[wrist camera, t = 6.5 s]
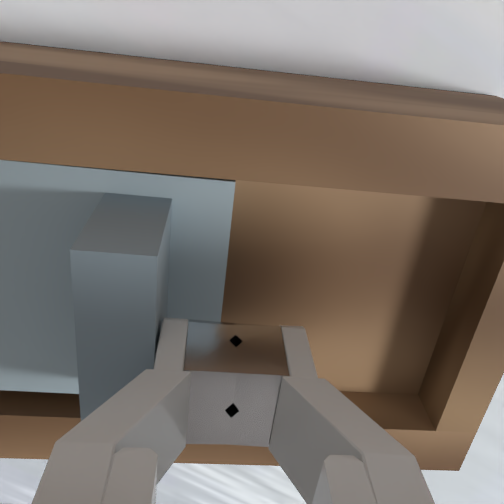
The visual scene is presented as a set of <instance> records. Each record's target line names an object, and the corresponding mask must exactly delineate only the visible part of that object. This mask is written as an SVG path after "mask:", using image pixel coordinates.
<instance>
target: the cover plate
mask: <svg viewBox="0 0 504 504" xmlns="http://www.w3.org/2000/svg"><path fill="white" fill-rule="evenodd" d="M234 192H235V180H230V179H218V178H207V177H195V176H184V175H172V174H161V173H149V172H138V171H126V170H114V169H103V168H91V167H80V166H68V165H57V164H45V163H34V162H22V161H11V160H0V390H7V391H28V392H49V393H70V394H79V401H80V416H81V421H82V420H83V419H85V418H86V417H87V416H88V415H90V414H91V413H92V412H93V411H95V410H96V409H97V408H98V407H100V406H101V405H102V404H103V403H105V402H106V401H107V400H108V399H110V398H111V397H112V396H113V395H115V394H116V393H117V392H118V391H120V390H121V389H122V388H123V387H124V386H126V385H127V384H128V383H129V382H131V381H132V380H133V379H134V378H136V377H137V376H138V375H139V374H141V373H142V372H143V371H144V370H146V369H154V363H155V358H156V353H157V347H158V342H159V337H160V331H161V326H162V321H163V319H164V318H179V319H188V324H189V319H193V320H205V321H216V322H221V313H222V304H223V295H224V285H225V276H226V267H227V257H228V248H229V238H230V229H231V220H232V210H233V201H234Z"/></svg>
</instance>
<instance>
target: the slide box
mask: <svg viewBox="0 0 504 504" xmlns="http://www.w3.org/2000/svg"><path fill="white" fill-rule="evenodd" d="M0 160H11V161H22V162H34V163H45V164H57V165H68V166H80V167H91V168H103V169H114V170H126V171H138V172H149V173H161V174H172V175H184V176H195V177H207V178H218V179H230V180H235V192H234V201H233V210H232V220H231V229H230V238H229V248H228V257H227V267H226V276H225V285H224V295H223V304H222V313H221V322H228V323H236V324H251V325H270V326H280V325H283V326H303V327H304V328H305V330H306V334H307V338H308V341H309V345H310V349H311V353H312V357H313V361H314V364H315V368H316V372H317V376H318V378H322V379H326V380H327V381H328V382H329V383H331V384H332V385H333V386H334V387H335V388H336V389H337V390H339V391H340V392H341V393H342V394H343V395H344V396H346V397H347V398H348V399H349V400H350V401H351V402H353V403H354V404H355V405H356V406H357V407H358V408H360V409H361V410H362V411H363V412H364V413H365V414H366V415H368V416H369V417H370V418H371V419H372V420H373V421H375V422H376V423H377V424H378V425H379V426H380V427H382V428H383V429H384V430H385V431H386V432H387V433H388V434H390V435H391V436H392V437H393V438H394V439H395V440H397V441H398V442H399V443H400V444H401V445H402V446H404V447H405V448H406V449H407V450H408V451H409V452H410V453H412V454H413V455H414V456H415V458H416V460H417V462H418V465H419V467H420V470H452V471H459V470H460V467H461V465H462V463H463V461H464V459H465V456H466V454H467V452H468V450H469V448H470V445H471V443H472V441H473V439H474V437H475V435H476V432H477V430H478V428H479V426H480V424H481V421H482V419H483V417H484V415H485V413H486V410H487V408H488V406H489V404H490V402H491V399H492V397H493V395H494V393H495V391H496V388H497V386H498V384H499V382H500V380H501V377H502V375H503V373H504V99H503V98H500V97H497V96H490V95H481V94H472V93H463V92H454V91H445V90H436V89H427V88H418V87H409V86H400V85H391V84H381V83H372V82H363V81H354V80H345V79H336V78H327V77H318V76H309V75H300V74H291V73H282V72H273V71H264V70H254V69H245V68H236V67H227V66H218V65H209V64H200V63H191V62H182V61H173V60H164V59H155V58H146V57H136V56H127V55H118V54H109V53H100V52H91V51H82V50H73V49H64V48H55V47H46V46H37V45H28V44H19V43H9V42H0ZM80 422H81V416H80V401H79V394H70V393H49V392H28V391H7V390H0V458H21V459H49V457H50V455H51V452H52V449H53V447H54V444H55V442H56V441H57V440H59V439H60V438H61V437H62V436H64V435H65V434H66V433H67V432H69V431H70V430H71V429H72V428H74V427H75V426H76V425H77V424H78V423H80ZM173 463H200V464H236V465H272V466H280V465H279V463H278V462H277V460H276V459H275V458H274V456H273V455H272V453H271V452H270V451H269V447H259V446H244V445H229V444H186V447H185V448H184V449H183V451H182V452H181V453H180V455H179V456H178V457H177V459H176V460H175V461H174V462H173Z"/></svg>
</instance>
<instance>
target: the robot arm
mask: <svg viewBox="0 0 504 504" xmlns="http://www.w3.org/2000/svg"><path fill="white" fill-rule="evenodd" d="M186 444H229V445H244V446H259V447H269V451H270V452H271V453H272V455H273V456H274V458H275V459H276V460H277V462H278V463H279V465H280V466H281V468H282V469H283V470H284V472H285V473H286V475H287V476H288V477H289V479H290V480H291V482H292V483H293V485H294V486H295V487H296V489H297V490H298V492H299V493H300V494H301V496H302V497H303V499H304V500H305V501H306V503H307V504H435V503H434V500H433V498H432V496H431V493H430V491H429V489H428V486H427V484H426V481H425V479H424V477H423V474H422V472H421V470H420V467H419V465H418V462H417V460H416V458H415V456H414V455H413V454H412V453H410V452H409V451H408V450H407V449H406V448H405V447H404V446H402V445H401V444H400V443H399V442H398V441H397V440H395V439H394V438H393V437H392V436H391V435H390V434H388V433H387V432H386V431H385V430H384V429H383V428H382V427H380V426H379V425H378V424H377V423H376V422H375V421H373V420H372V419H371V418H370V417H369V416H368V415H366V414H365V413H364V412H363V411H362V410H361V409H360V408H358V407H357V406H356V405H355V404H354V403H353V402H351V401H350V400H349V399H348V398H347V397H346V396H344V395H343V394H342V393H341V392H340V391H339V390H337V389H336V388H335V387H334V386H333V385H332V384H331V383H329V382H328V381H327V380H326V379H322V378H318V376H317V372H316V368H315V364H314V361H313V357H312V353H311V349H310V345H309V341H308V338H307V334H306V330H305V328H304V327H303V326H283V325H280V326H270V325H251V324H236V323H228V322H216V321H205V320H193V319H189V324H188V319H179V318H164V319H163V321H162V326H161V331H160V337H159V342H158V347H157V353H156V358H155V363H154V369H146V370H144V371H143V372H142V373H141V374H139V375H138V376H137V377H136V378H134V379H133V380H132V381H131V382H129V383H128V384H127V385H126V386H124V387H123V388H122V389H121V390H120V391H118V392H117V393H116V394H115V395H113V396H112V397H111V398H110V399H108V400H107V401H106V402H105V403H103V404H102V405H101V406H100V407H98V408H97V409H96V410H95V411H93V412H92V413H91V414H90V415H88V416H87V417H86V418H85V419H83V420H82V421H81V422H80V423H78V424H77V425H76V426H75V427H74V428H72V429H71V430H70V431H69V432H67V433H66V434H65V435H64V436H62V437H61V438H60V439H59V440H57V441H56V442H55V444H54V447H53V449H52V452H51V455H50V457H49V460H48V463H47V465H46V468H45V470H44V473H43V476H42V478H41V481H40V483H39V486H38V489H37V491H36V494H35V496H34V499H33V502H32V504H156V485H157V484H158V482H159V481H160V480H161V478H162V477H163V476H164V474H165V473H166V472H167V470H168V469H169V468H170V466H171V465H172V464H173V462H174V461H175V460H176V459H177V457H178V456H179V455H180V453H181V452H182V451H183V449H184V448H185V447H186Z"/></svg>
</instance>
